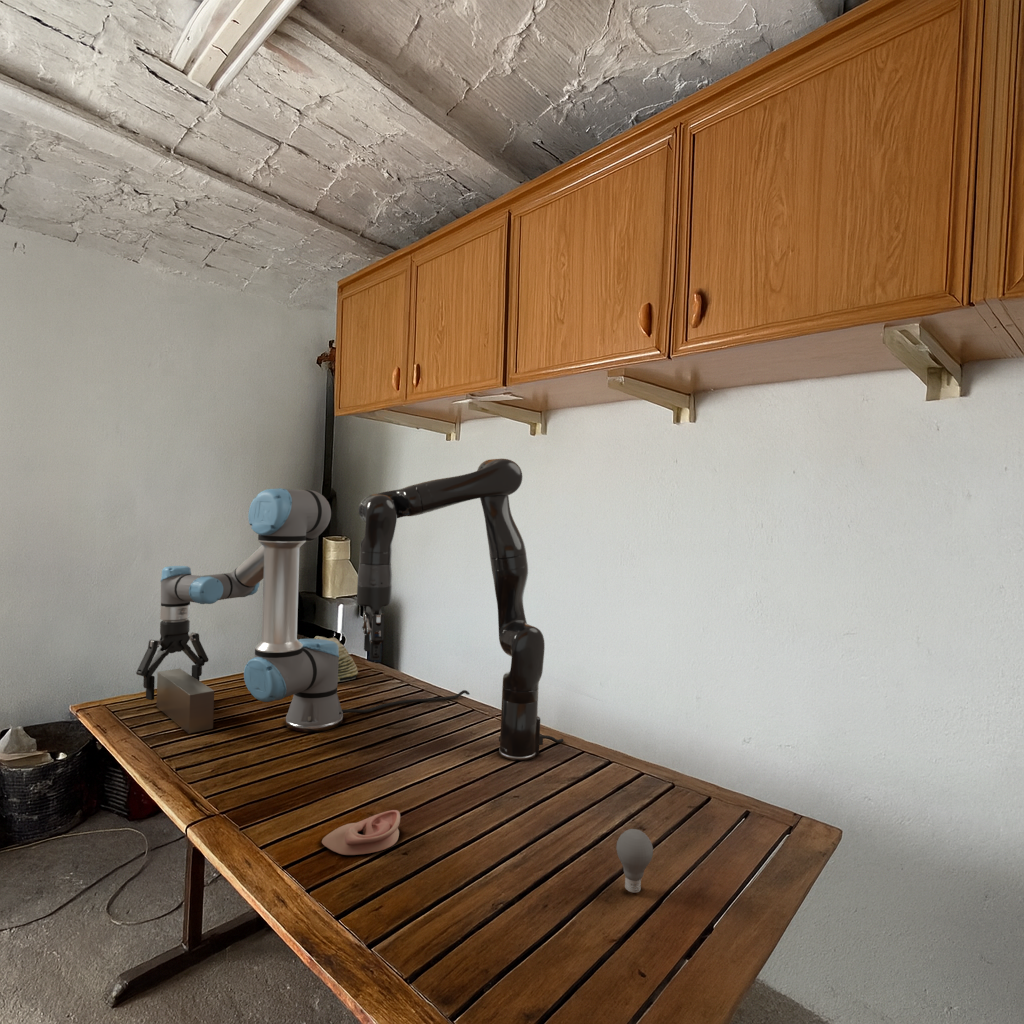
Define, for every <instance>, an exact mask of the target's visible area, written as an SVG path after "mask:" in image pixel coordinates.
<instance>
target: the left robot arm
mask: <svg viewBox="0 0 1024 1024" xmlns="http://www.w3.org/2000/svg"><path fill="white" fill-rule="evenodd" d="M331 518H332V509H331V505H330V502H329V501H328V500H327V498H326V497H325V496H324V495H323V494H321V493H320V492H317V491H316V490H313V489H312V490H311V489H293V488H281V487H279V488H267V489H264V490H262V491H260V492H259V493H257V494H256V496H255V497H253V500H252V501H251V503H250V505H249V509H248V516H247V519H248V523H249V525H250V526H251V527H250V528H251V530H252V531H253V532H254V533H256V534H257V538H258V539H257V541H258V543H260V546H259V547H258V548H257V549H256V550H255V551H254V552H253V553H251V554H250V555H249V556H248V557H246V558H245V560H243V562H242V563H240V564H239V565H238V566H237V567H236V568H235V569H233V570H232V571H231V572H225V573H215V574H205V575H197V574H196V575H195V574H192V568H191V567H190V566H187V565H168V566H165V567H163V568H162V570H161V578H160V611H159V612H160V613H159V614H160V615H159V619H160V620H161V621H160V622H159V634H160V638H159V639H149V641H148V645H147V649H146V651H145V654H144V655H143V657H142V660H141V661H140V663H139V665H138V668H137V670H136V671H135V673H136V675H137V676H140V677H143V685H142V686H143V688H144V689H145V699H146V700H150V701H154V700H155V685H156V684H155V681H156V677H155V675H154V673H155V672H156V670H157V669H158V668H159V666H160V665H161V664H162V662H163V661H164V659H166V657H167V656H168V655H169V654H174V653H180V652H183V653H184V654H185V655H186V657H188V658H189V660H190V661H191V662H192V663H193V664H192V665H191V676H192V677H194V678H195V679H197V680H198V681H200V677H201V676H202V674H203V667H204V666H205V665H206V664H205V663H208V662H209V657H208V655H207V653H206V651H205V649H204V646H203V644H202V643H201V640H200V633H197V632H190V625H191V623H190V622H191V621H190V620H189V618H191V617H190V615H191V613H190V612H191V603H194V604H195V603H196V604H200V605H212V604H215V603H217V602H218V601H222V600H223V601H224V600H229V599H236V598H246V597H248V596H249V597H250V596H253V595H255V594H256V593H257V592H258V590H259V588H260V585H261V584H260V582H261V581H263V582H262V611H261V612H262V615H261V616H262V617H261V640H260V641H259V642H258V643H257V644H256V645H255V647H254V657H252V658H251V659H249V660H248V661H247V663H246V664H245V666H244V668H243V680H244V683H245V686H246V688H247V690H248V692H250V694H251V696H252V697H253V698H255V699H256V700H258V701H260V702H263V703H270V702H275V701H280V700H283V699H285V698H288V697H291V696H293V697H292V699H291V702H290V704H289V708H288V711H287V713H286V715H285V726H286V728H287V729H289V730H291V731H294V732H295V731H296V732H301V733H316V732H325V731H329V730H332V729H335V728H337V727H339V726H340V725H342V723H343V722H344V714H353V713H354V714H365V713H371V712H375V711H378V710H380V709H383V708H388V707H392V706H397V705H404V704H410V703H412V704H413V703H425V702H426V703H427V702H439V701H449V700H450V701H451V700H454V699H458V698H459V697H461V696H462V695H463V694H466V695H467V696H468V695H471V694H470V692H469V691H468V690H465V689H464V690H461V691H460V692H458V693H457V694H454V695H450V696H439V697H428V698H427V697H426V698H412V699H403V700H397V701H392V702H391V701H390V702H386V703H382V704H379V705H376V706H374V707H370V708H365V709H357V708H354V709H353V708H352V709H350V708H349V709H347V708H345V709H343V708H342V706H341V702H340V699H339V695H338V683H339V682H338V664H339V647H338V645H337V643H335V642H333V641H329V640H322V639H314V638H300V639H298V612H299V611H298V609H299V579H300V578H299V577H300V576H299V575H300V548H301V547H302V546H303V545H304V544H306V543H308V542H313V541H314V540H315V539H317V538H318V537H319V536H320V535H321V534H322V533H323V532H324V531H325V530H326V529H327V528H328V526H329V524H330V521H331ZM189 632H190V634H189ZM189 641H190V642H191V645H192V647H193V649H194V650H193V649H192V648H191V646H190V645H189V644H188V643H189ZM158 648H159V649H158ZM194 651H195V652H194Z"/></svg>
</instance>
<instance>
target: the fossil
mask: <svg viewBox="0 0 1024 1024" xmlns="http://www.w3.org/2000/svg"><path fill="white" fill-rule="evenodd" d="M313 639H322V640H329V641H333V642H335V643H337V645H338V647H339V664H338V683H340V682H346V681H350V680H351V681H352V680H355V679H357V677H358V675H359V671H358V666H357V664H356V663H355V661H354V659H353V657H352V656H351V655H350V652H349V651H348V650H347V648H346V647H345V646H344V645H343V644H342V643H341V641H340V640H339V639H337V638H336V637H329V638H327V637H325V636H319V635H316V636H315V637H314V638H313Z"/></svg>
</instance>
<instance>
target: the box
mask: <svg viewBox="0 0 1024 1024" xmlns="http://www.w3.org/2000/svg"><path fill="white" fill-rule="evenodd" d="M156 708H157V709H158V710H159V711H161V712H162V713H163V714H165V715H166V716H167V717H168V718H169V719H170V720H171V721H173V722H174V723H175V724H176V725H177V726H179V727H180V728H181V729H182V730H183V731H185V732H186V733H187V734H188V735H190V734H195V733H200V732H204V731H208V730H209V731H210V730H212V729H214V716H215V715H214V713H215V712H214V711H215V690H214V689H212V688H211V687H210V686H208V685H206V684H205V683H203V682H202V681H200V680H199V681H198V680H197V679H195V678H194V677H192V674H190V673H188V672H186V671H185V670H184V669H182V668H174V669H167V670H161V671H157V676H156Z"/></svg>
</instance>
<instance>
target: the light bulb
mask: <svg viewBox="0 0 1024 1024" xmlns="http://www.w3.org/2000/svg"><path fill="white" fill-rule="evenodd" d="M615 849H616V854H617V857H618V859H619V861H620V863H621V865H622V867H623V873H624V874H623V875H624V876H625V878H624V888H625V890H627V891H628V892H630V893H634V894H635V893H639V892H640V891H641V889H642V887H641V886H642V879H643V877H644V875H645V871H646V868H647V867H648V866H649V864H650V863H651V861H652V859H653V855H654V847H653V843H652V841H651V838H649V836H648V835H647V834H646V833H645V832H643V831H642V830H641V829H636V828H629V829H627V830H625V831H623V832H622V833H621V834H620V835H619V837H618V839H617V841H616V847H615Z"/></svg>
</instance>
